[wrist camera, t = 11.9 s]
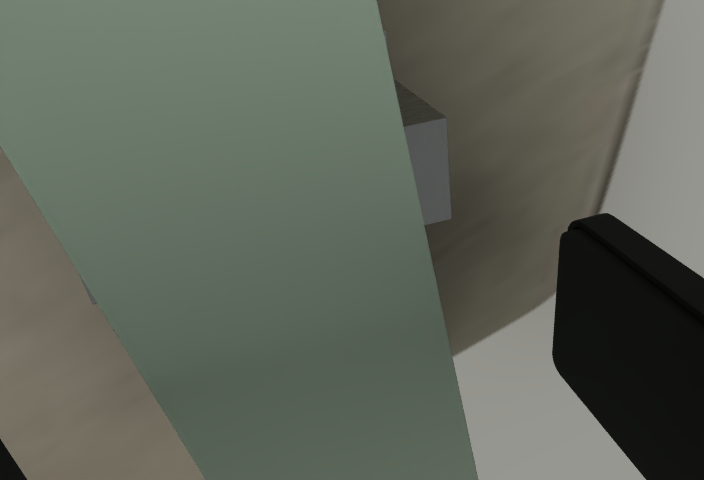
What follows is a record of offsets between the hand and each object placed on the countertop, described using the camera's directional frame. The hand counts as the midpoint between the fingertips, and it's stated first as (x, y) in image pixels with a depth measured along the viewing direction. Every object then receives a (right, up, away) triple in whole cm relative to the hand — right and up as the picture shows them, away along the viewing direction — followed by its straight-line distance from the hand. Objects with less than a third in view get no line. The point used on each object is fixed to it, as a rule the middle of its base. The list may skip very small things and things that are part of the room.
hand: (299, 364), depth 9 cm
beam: (-1, +3, +6) cm, 6 cm away
